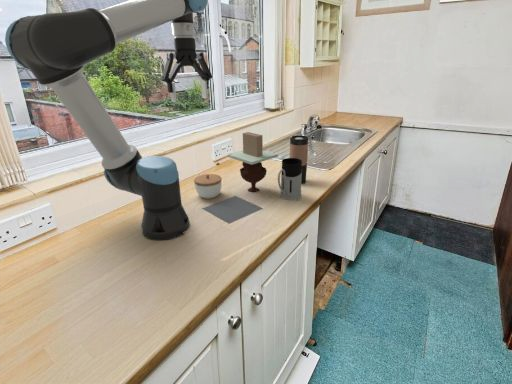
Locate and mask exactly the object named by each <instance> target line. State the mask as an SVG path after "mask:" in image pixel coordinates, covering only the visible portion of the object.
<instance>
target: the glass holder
mask: <svg viewBox="0 0 512 384" xmlns="http://www.w3.org/2000/svg"><path fill="white" fill-rule="evenodd" d="M301 181H302V160H300V159H297V158H290V157H287V158H283V159H282V160H281V169H280V170H279V171H278V174H277V184H278V188H279V190H280V197H281V199H284V200H288V201H297V202H298V201H301V200H302V198H303V196H302V184H301Z"/></svg>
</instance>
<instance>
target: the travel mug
mask: <svg viewBox="0 0 512 384" xmlns="http://www.w3.org/2000/svg"><path fill="white" fill-rule="evenodd" d="M308 151H309V137H308V136H306V135H300V134H299V135H297V134H296V135H292V136H291V137H289V158H297V159H300V160H302V181H301V185H304V184H306V182H307V170H308V168H307V167H308V155H309V154H308Z"/></svg>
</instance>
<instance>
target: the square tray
mask: <svg viewBox="0 0 512 384" xmlns="http://www.w3.org/2000/svg"><path fill="white" fill-rule="evenodd" d="M201 209H202V210H204V211H205V212H207V213H209V214H211V215H213V216H214V217H216V218H218V219H220V220H221V221H223V222H225V223H228V224H232V223H234V222H236V221H238V220H240V219H243V218H245V217H248V216H249V215H251V214H254V213H256V212H260V211H261V210H263V209H264V207H261V206H260V205H256V204H255V203H252V202H250V201H249V200H246V199H243V198H241V197H240V196H237V195H233V196H231V197H228V198H225V199H222V200H221V201H218V202H215V203H212V204H209V205H207V206H204V207H202V208H201Z"/></svg>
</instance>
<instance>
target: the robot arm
mask: <svg viewBox="0 0 512 384" xmlns="http://www.w3.org/2000/svg"><path fill="white" fill-rule="evenodd" d="M208 1H209V0H127V1H124V2H121V3H118V4H115V5H111V6H109V7H105V8H103V9H100V10H98V9H97V8H95V7H88V8H85V9H82V10H76V11H69V12H68V11H67V12H52V13H51V12H49V13H44V14H38V15H37V14H36V15H27V16H25V17H20V18H18V19H17V20H14V21H13V22H12V23H10V24H9V26H7V28H6V33H5V39H4V40H5V41H4V42H5V46H6V49H7V50H6V51H7V52H8V53H9V55H10V56H11V58H12V59H13V61H15V62H16V63H17V64H18V65H20V66H22V67H23V68H24V69H27V70H29V71H30V72H31V73H32V75H33V77H35V79H36V80H37V82H38V83H39V84H40V86H43V87H47V88H50V89H52V91H53V92H54V94H55V95H56V96H57V98H58V99H59V101H60V102H61V103H62V105H63V106H64V107H65V109H66V110H67V112H68V113H69V115H71V117H72V118H73V119H74V121H75V122H76V124H77V125H78V127H79V128H80V129H81V131H82V132H83V133H84V135H85V136H86V137H87V139H88V140H89V141H90V143H91V144H92V146H94V149H96V151H97V152H98V154H99V155H100V156H101V158H102V159H101V166H102V169H104V171H103V175H104V177H105V180H106V181H107V183H109V185H111V186H112V187H114V188H115V189H118V190H120V191H122V192H123V191H124V192H127V193H131V194H134V195H138V196H141V198H142V199H141V200H142V205H143V215H142V220H141V227H140V228H141V232H142V235H143V236H144V237H145V238H146V239H149V240H153V241H165V240H167V241H168V240H171V239H172V240H173V239H174V238H175V239H176V238H177V237H179V236H182V235H184V234H185V232H186V231H187V230H188V229H189V228H190V224H191V223H190V219H189V215H188V214H187V211H186V210H185V208H184V206H183V204H182V195H181V187H180V177H179V176H180V175H179V173H180V172H179V170H178V166H177V163H176V162H175V161H174V160H173V159H172V158H170V157H167V156H164V155H148V156H144V157H142V155H141V153H140V152H139V150H138V148H137V147H136V146H135V145H133V144H128V141H126V139H125V137H124V136H123V134H122V133H121V131H120V130H119V128H118V127H117V125H116V123H115V122H114V120H113V119H112V117H111V115H110V114H109V112H108V111H107V109H106V108H105V106H104V105H103V103H102V101H101V100H100V98H99V96H98V94H97V93H96V92H95V90H94V89H93V87H92V86H91V84H90V83H89V81H88V79H87V78H86V76H85V75H84V69H85V66H86V65H87V64H89V63H92V62H93V61H95V60H98V59H99V58H102V57H103V56H105V55H107V54H110V53H112V52H114V51H115V49H116V47H117V45H118V44H120V43H123V42H125V41H127V40H130V39H133V38H134V37H137V36H139V35H141V34H143V33H146V32H148V31H150V30H152V29H155V28H158V27H159V26H162V25H164V24H167V23H169V22H171V32H172V36H173V40H172V41H173V49H174V53H173V52H166V61H165V65H164V69H163V72H162V75H161V78H160V80H161V82H163V83H166V86H167V92H168V93H170V101H171V102H172V103H177V102H178V101H177V91H176V84H175V82H174V81H175V78H176V76H177V75H178V74H179V72H180V70H181V68H182V67H193V69H194V70H195V72H196V73H197V74H198V75H199V76H200V78H201V79H202V80H200V86H201V97H202V99H205V100H206V99H209V98H208V97H209V95H208V89H209V81H210V80H211V79H213V75H212V73H211V70H210V69H209V66H208V64H207V62H206V60H205V56H204V52H201V51H200V52H196V45H197V44H196V38H195V25H194V13H198V12H201V11H202V12H203V11H204V10H205V9H206V8H207V5H208ZM196 59H197V60H198V61H197V60H196ZM174 60H176V61H175V63H174ZM198 62H199V63H198ZM173 64H174V66H173Z"/></svg>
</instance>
